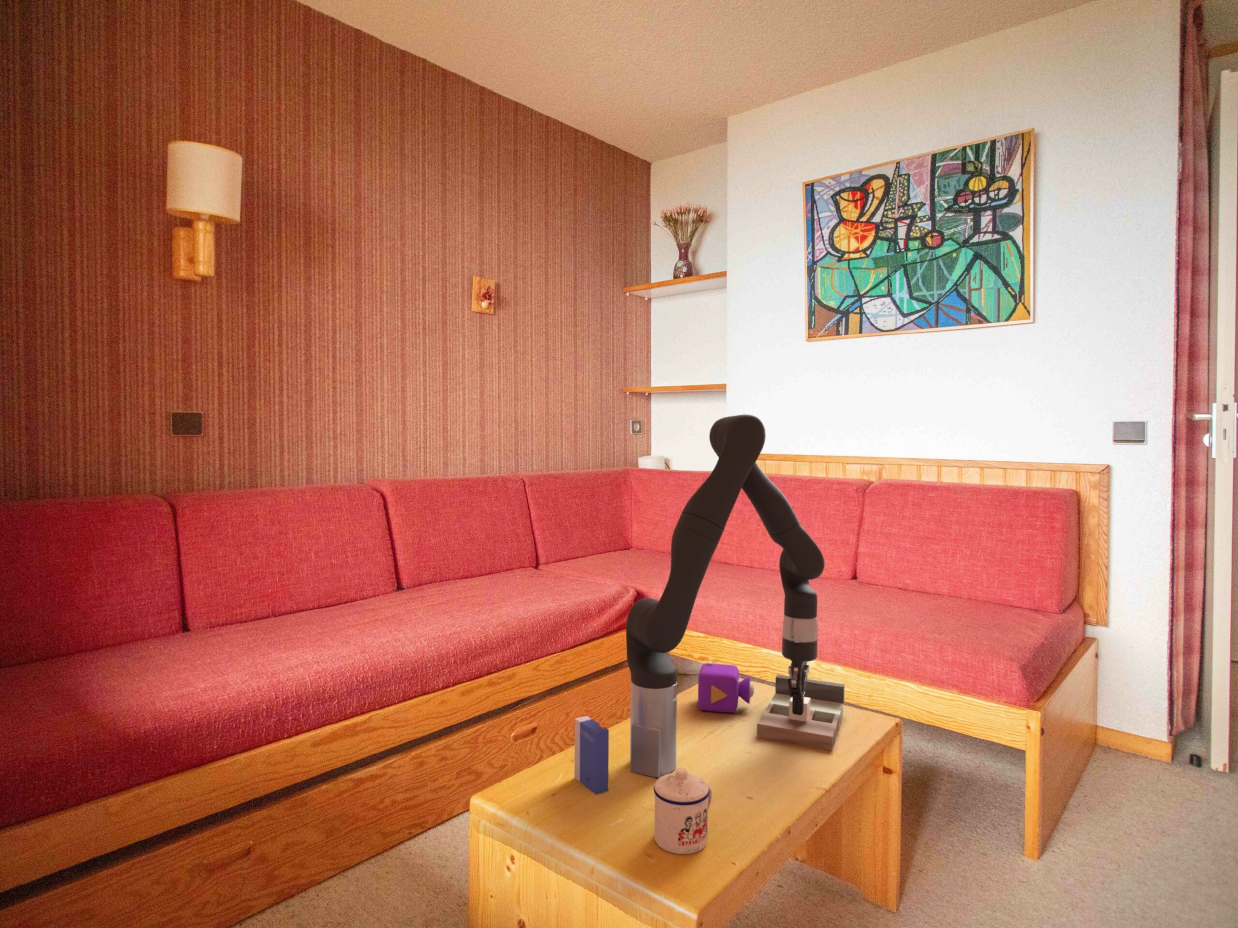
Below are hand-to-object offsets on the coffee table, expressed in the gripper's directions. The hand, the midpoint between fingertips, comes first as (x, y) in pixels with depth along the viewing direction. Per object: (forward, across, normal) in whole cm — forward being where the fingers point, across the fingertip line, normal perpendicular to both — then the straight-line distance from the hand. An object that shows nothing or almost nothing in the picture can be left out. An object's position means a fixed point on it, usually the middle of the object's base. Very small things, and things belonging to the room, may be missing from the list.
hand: (797, 713), depth 155 cm
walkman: (+6, +38, -32) cm, 50 cm away
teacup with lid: (+6, +47, -10) cm, 48 cm away
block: (+2, -4, 0) cm, 4 cm away
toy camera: (+5, -10, -19) cm, 22 cm away
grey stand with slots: (+5, -7, 0) cm, 9 cm away
